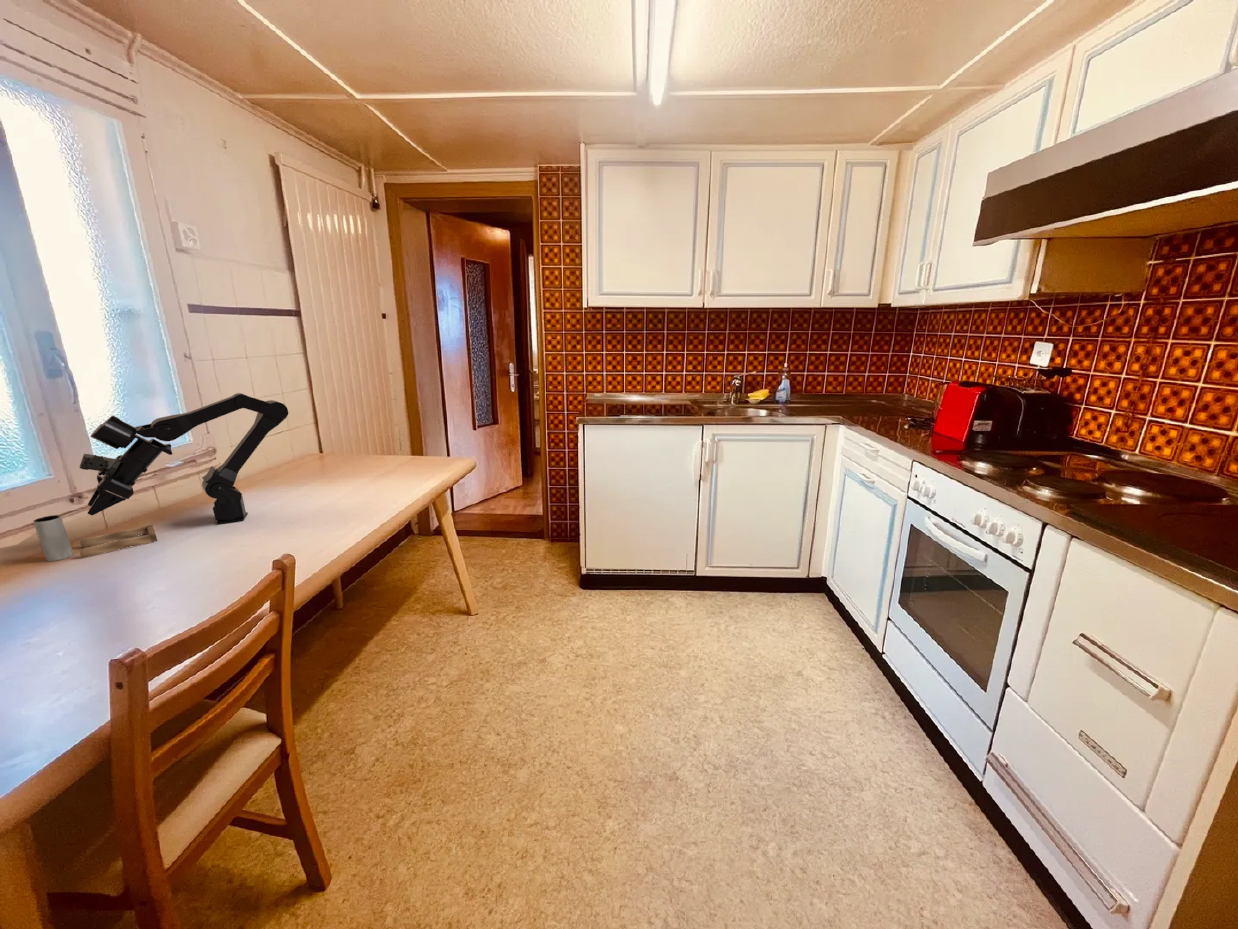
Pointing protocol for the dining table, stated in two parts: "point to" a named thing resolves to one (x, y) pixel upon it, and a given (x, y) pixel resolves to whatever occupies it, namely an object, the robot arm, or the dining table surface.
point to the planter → (53, 537)
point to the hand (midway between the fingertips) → (89, 510)
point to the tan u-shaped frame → (118, 544)
